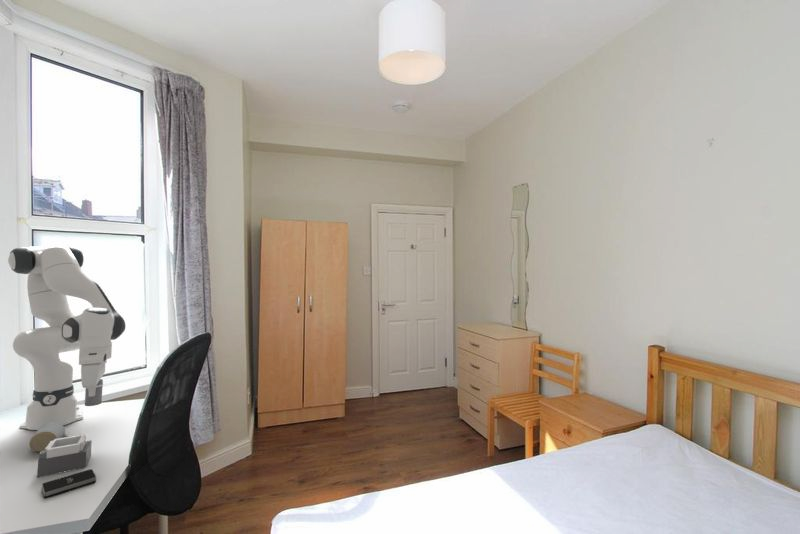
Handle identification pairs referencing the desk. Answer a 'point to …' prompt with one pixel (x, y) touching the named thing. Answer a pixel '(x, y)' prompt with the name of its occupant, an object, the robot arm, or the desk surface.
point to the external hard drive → (68, 483)
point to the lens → (94, 399)
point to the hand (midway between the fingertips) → (93, 393)
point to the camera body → (64, 455)
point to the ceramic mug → (46, 436)
